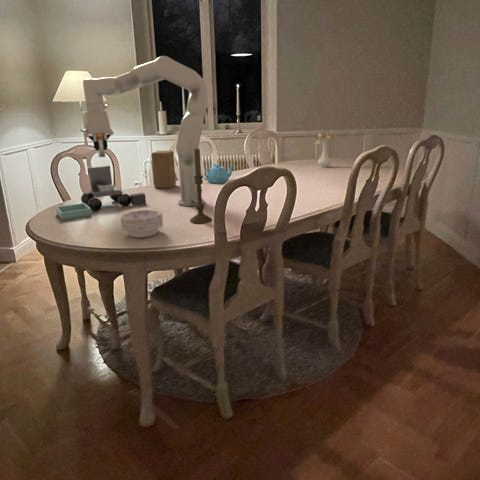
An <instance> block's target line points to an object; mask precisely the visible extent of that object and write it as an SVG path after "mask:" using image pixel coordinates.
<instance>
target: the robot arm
mask: <svg viewBox="0 0 480 480" xmlns="http://www.w3.org/2000/svg"><path fill="white" fill-rule="evenodd" d="M164 80H166V81H168V82H170V83H172V84H173V85H175V86H176V85H177V86H178V87H181V88H182V89H184V90H187V92H188V98H187V104H186V109H185V113H184V116H183V117H182V119H181V122H180V126H179V131H178V137H177V141H176V144H175V145H176V146H175V151H176V154H177V156H178V157H177V158H178V173H179V174H178V175H179V187H180V188H179V189H180V196H181V197H180V199H179V200H178V201H177V203H178V205H179V206H183V207H194V206H195V207H196V205H198V192H197V184H195V178H194V176H196V171H195V154H194V149H200V148H199V145H200V141H201V136H202V132H203V127H204V120H205V119H204V118H205V115H206V109H207V104H208V97H209V93H208V92H209V91H208V87H207V84H206V82H205V80H204V79H203V78H202V76H201V75H200V74H198V72H197V71H195V70H194V69H192V68H190V67H188V66H186V65H184V64H182V63H180V62H178V61H176V60H174V59H173V58H171V57H169V56H167V55H160V56H159V57H157V58H156V59H155V60H152V61H148V62H145V63H143V64H140V65H136V66H135V67H133V68H132V69H131V70H129V71H128V72H125V73H123V74H119V75H117V76H113V77H110V76H109V77H108V76H105V77H100V78H95V77H93V78H85V79H83V80H82V84H83V86H82V87H83V93H84V100H85V107H86V111H85V112H84V123H85V131H84V133H83V134H84V135H83V136H84V137H85V138H88V139H90V140H91V141H92V143H93V148H94V149H95V151H97V152H98V150H99V147H98V142H97V140H96V134H104V137H103V141H104V149H105V151H107V149H108V140H109V138H110V137H111V136H113V135H114V131H113V130H112V128H111V124H110V119H109V116H108V113H107V110H106V109H108V105H107V104H105V103H104V96H112V97H113V96H118V95H120V94H124V93H126V92H127V93H128V92H129V91H133V90H136V89H138V88H143V87H146V86H149V85H152V84H154V83H158V82H161V81H164ZM197 147H198V148H197ZM201 201H202V204H203V205H204V204H205V199H204V198H202V200H201Z"/></svg>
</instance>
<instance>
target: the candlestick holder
mask: <svg viewBox="0 0 480 480" xmlns="http://www.w3.org/2000/svg"><path fill="white" fill-rule="evenodd" d="M198 147H199V146H198ZM198 147H197V148H198ZM194 154H195V171H196V176H194V178H195V184H197V192H198V205H196V206H195V208H196V210H197V214H196V215H193V217H191V218H189V222H190V223H192V224H197V225H203V224H209V223H211V222H213V219H212V217H211V216H209V215H207V214H205V213H204V209H205V204H204V203H203V204H202V201H201V200H202V199H203V198H202V191H203V188H202V186H201V185H202V184H203V183H204V181H203V179H204V175H202V167H201V165H202V164H201V150H200V148H199V149H194Z"/></svg>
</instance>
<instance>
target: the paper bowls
mask: <svg viewBox="0 0 480 480" xmlns="http://www.w3.org/2000/svg"><path fill="white" fill-rule="evenodd" d="M163 220H164V219H163V213H162V212H161V211H160V210H155V209H154V210H153V209H143V210H133V211H128V212H126V213H123V214H121V215H120V223H121V229H122V230H123V231H125V232H127V233H128V235H129V236H131V237H133V238H137V239H139V238H141V239H143V237H144V238H149V237H153V236H155V235H156V234H158V230H159V229H160V228H161V229H162V227H163V225H164V223H163V222H164V221H163Z"/></svg>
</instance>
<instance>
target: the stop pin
mask: <svg viewBox="0 0 480 480" xmlns="http://www.w3.org/2000/svg"><path fill="white" fill-rule="evenodd" d="M103 137H104V134H96V140H97V142H98V147H99V150H98V151H97V153H98V158H106V150H105V149H104V141H103Z"/></svg>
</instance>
